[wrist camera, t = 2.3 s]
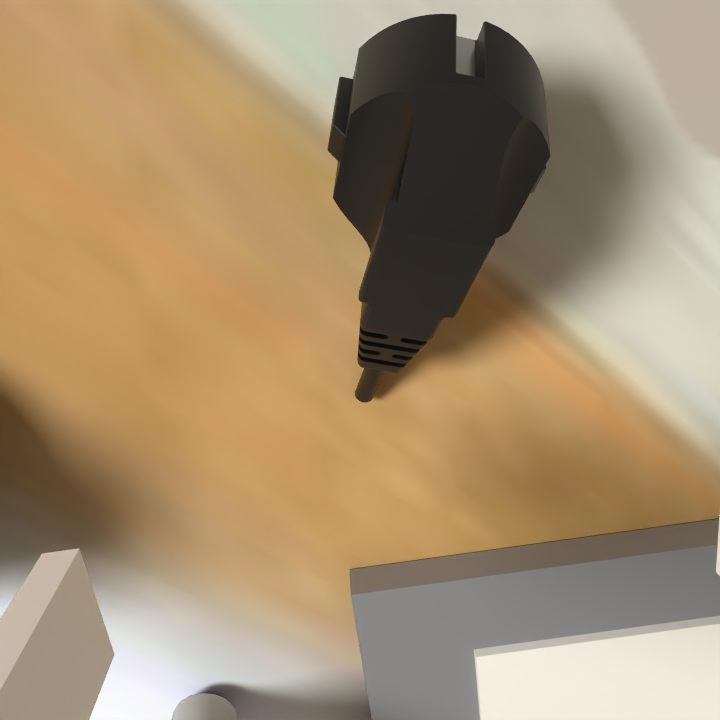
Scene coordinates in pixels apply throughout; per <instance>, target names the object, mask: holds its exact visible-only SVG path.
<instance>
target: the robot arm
mask: <svg viewBox="0 0 720 720" xmlns="http://www.w3.org/2000/svg"><path fill="white" fill-rule="evenodd" d="M716 572H717V574H718V575H719V576H720V517H719V532H718V547H717V562H716ZM113 656H114V652H113V649H112V646H111V643H110V640H109V637H108V634H107V631H106V628H105V625H104V621H103V618H102V615H101V612H100V609H99V606H98V603H97V600H96V597H95V594H94V591H93V588H92V585H91V582H90V579H89V576H88V573H87V570H86V566H85V563H84V560H83V557H82V554H81V551H80V548H79V549H71V550H64V551H57V552H49V553H42V554H41V556H40V558H39V559H38V561H37V562H36V564H35V565H34V567H33V568H32V570H31V572H30V573H29V575H28V576H27V578H26V579H25V581H24V583H23V584H22V586H21V587H20V589H19V590H18V592H17V594H16V595H15V597H14V598H13V600H12V601H11V603H10V605H9V606H8V608H7V609H6V611H5V612H4V614H3V616H2V617H1V619H0V720H89V718H90V716H91V713H92V711H93V708H94V705H95V703H96V700H97V698H98V695H99V692H100V690H101V687H102V685H103V682H104V680H105V677H106V674H107V672H108V669H109V667H110V664H111V662H112V659H113Z"/></svg>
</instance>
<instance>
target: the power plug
mask: <svg viewBox="0 0 720 720" xmlns="http://www.w3.org/2000/svg"><path fill="white" fill-rule="evenodd" d="M456 25H457V16H456V15H455V14H434V15H425V16H419V17H414V18H410V19H407V20H404V21H401V22H399V23H396V24H394V25H392V26H389V27H388V28H386V29H384V30H382V31H381V32H379V33H377V34H376V35H375V36H373V37H372V38H370V39H369V40H368V41H367V42H366V43H365V44H364V45H362V46H361V47H360V48H359V52H358V57H357V62H356V67H355V72H354V77H353V79H349V78H345V77H340V78H339V83H338V89H337V94H336V100H335V105H334V112H333V119H332V125H331V132H330V138H329V145H328V151H329V152H330V153H331V154H332V155H333V156H334V157H335V158H336V159H337V160H338V165H337V172H336V180H335V187H334V194H333V199H334V200H335V202H336V204H337V205H338V207H339V208H340V210H341V211H342V212H343V214H344V215H345V216H346V217H347V219H348V220H349V221H350V222H351V223H352V224H353V226H354V227H355V228H356V229H357V230H358V231H359V233H360V234H361V235H362V236H363V238H364V239H365V241H366V242H367V244H368V246H369V248H370V253H371V255H370V258H369V261H368V264H367V268H366V271H365V274H364V277H363V281H362V284H361V287H360V290H359V300H360V301H361V302H362V309H361V319H360V335H359V347H358V364H359V365H360V366H361V367H363V368H364V370H363V373H362V375H361V378H360V381H359V383H358V386H357V389H356V391H355V396H356V398H357V399H358V400H359V401H361V402H369V401H371V400H372V398H373V396H374V394H375V391H376V389H377V387H378V384H379V382H380V380H381V378H382V375H383V373H384V371H387V372H393V373H397V372H399V371H400V370H401V369H402V368H403V367H404V366H405V365H406V363H408V362H409V361H410V360H411V359H412V358H413V356H415V355H416V353H417V352H418V351H419V350H420V349H421V348H422V347H423V346H424V345H425V344H426V343H427V341H429V340H430V339H431V338H432V337H433V336H434V334H435V332H436V330H437V328H438V326H439V324H440V322H441V320H443V319H444V318H446V317H450V318H453V317H454V316H455V315H456V313H457V311H458V309H459V308H460V306H461V304H462V302H463V300H464V298H465V296H466V294H467V293H468V291H469V289H470V287H471V285H472V283H473V281H474V279H475V278H476V276H477V274H478V272H479V270H480V268H481V266H482V264H483V263H484V261H485V259H486V257H487V255H488V253H489V251H490V249H491V248H492V246H493V245H494V242H495V239H496V238H497V237H499V236H501V235H503V234H505V233H507V232H509V230H510V228H511V226H512V224H513V223H514V221H515V219H516V217H517V215H518V214H519V212H520V210H521V208H522V206H523V205H524V203H525V201H526V199H527V197H528V196H529V194H530V193H532V192H533V191H534V189H535V187H536V186H537V184H538V182H539V180H540V178H541V177H542V175H543V173H544V171H545V170H546V163H547V161H548V160H549V158H550V148H549V137H548V126H547V116H546V105H545V95H544V87H543V82H542V78H541V75H540V72H539V69H538V67H537V65H536V63H535V61H534V60H533V58H532V56H531V55H530V54H529V52H528V51H527V50H526V49H525V47H524V46H523V45H522V44H521V43H520V42H519V41H518V40H516V39H515V38H514V37H513V36H511V35H510V34H509V33H507V32H506V31H504V30H502V29H501V28H499V27H497V26H495V25H493V24H490V23H488V22H484V23H483V26H482V29H481V31H480V34H479V37H478V39H477V40H472V39H467V38H463V37H459V36H456Z"/></svg>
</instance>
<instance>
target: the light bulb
mask: <svg viewBox="0 0 720 720" xmlns="http://www.w3.org/2000/svg"><path fill="white" fill-rule="evenodd" d="M172 720H238V715H237V713H236V710H235V708H234V706H233V705H232V704H231V703H230V702H229V701H228V700H226V699H225V698H223V697H220V696H218V695H215V694H207V693H200V694H196V695H191V696H189V697H187V698H186V699H184V700H182V701H181V702H180V703H179V704H178V706H177V707H176V709H175V710H174V712H173V716H172Z"/></svg>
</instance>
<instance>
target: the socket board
mask: <svg viewBox="0 0 720 720" xmlns="http://www.w3.org/2000/svg"><path fill="white" fill-rule="evenodd" d="M718 532H719V519H714V520H707V521H699V522H692V523H685V524H678V525H670V526H663V527H656V528H648V529H641V530H634V531H627V532H619V533H612V534H605V535H597V536H590V537H583V538H576V539H568V540H561V541H554V542H547V543H539V544H532V545H525V546H517V547H510V548H503V549H496V550H488V551H481V552H474V553H466V554H459V555H452V556H445V557H437V558H430V559H423V560H415V561H408V562H401V563H394V564H386V565H379V566H372V567H365V568H357V569H350V586H351V598H352V604H353V610H354V616H355V622H356V628H357V634H358V640H359V646H360V652H361V658H362V665H363V671H364V677H365V683H366V689H367V695H368V701H369V707H370V713H371V719H372V720H720V576H719V575H718V574H717V572H716V562H717V547H718Z"/></svg>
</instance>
